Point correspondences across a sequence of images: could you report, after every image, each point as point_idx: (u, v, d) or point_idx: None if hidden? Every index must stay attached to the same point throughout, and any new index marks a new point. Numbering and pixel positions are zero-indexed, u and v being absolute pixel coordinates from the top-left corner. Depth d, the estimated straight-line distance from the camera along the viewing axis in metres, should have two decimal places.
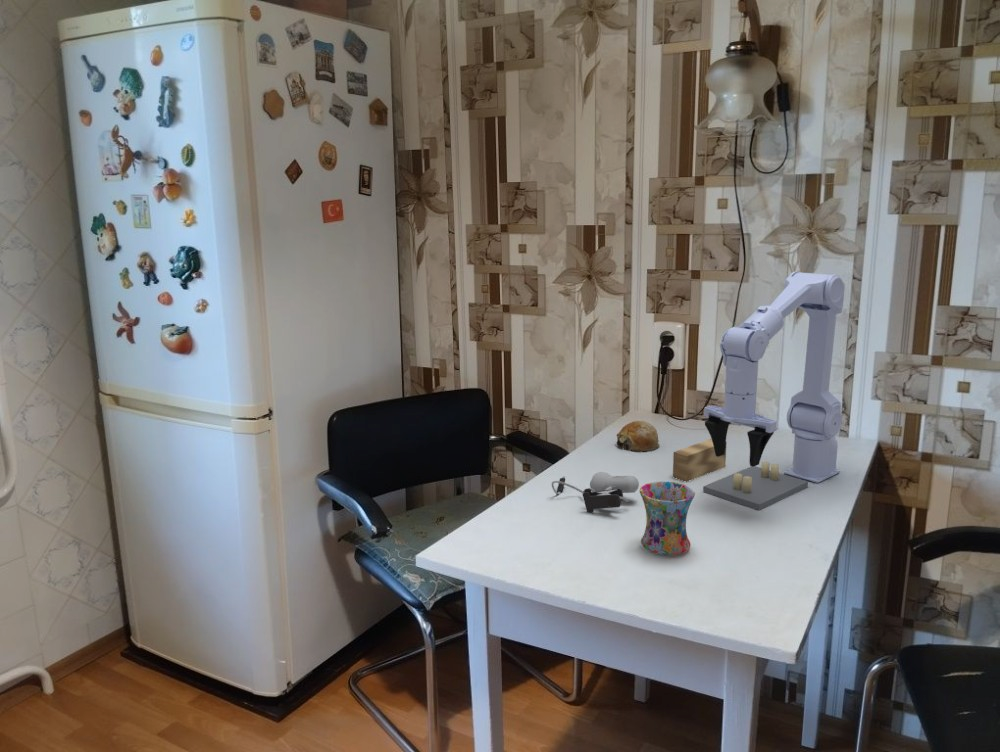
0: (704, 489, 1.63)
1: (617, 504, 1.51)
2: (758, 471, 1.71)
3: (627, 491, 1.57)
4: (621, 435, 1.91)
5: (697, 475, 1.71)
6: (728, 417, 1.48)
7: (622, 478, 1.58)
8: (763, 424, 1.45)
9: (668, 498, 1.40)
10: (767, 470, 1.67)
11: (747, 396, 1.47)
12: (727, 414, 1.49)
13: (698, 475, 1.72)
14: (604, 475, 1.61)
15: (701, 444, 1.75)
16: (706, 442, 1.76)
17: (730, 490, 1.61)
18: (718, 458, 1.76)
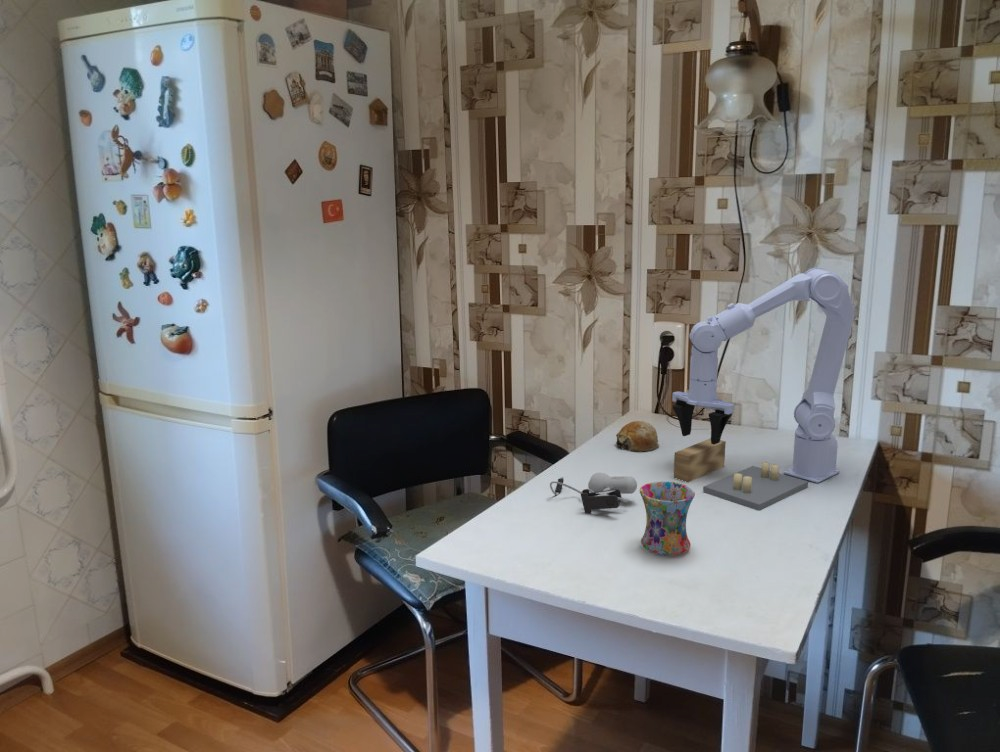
0: (704, 489, 1.63)
1: (615, 505, 1.51)
2: (758, 471, 1.71)
3: (625, 492, 1.57)
4: (621, 435, 1.91)
5: (698, 475, 1.71)
6: (692, 401, 1.69)
7: (621, 479, 1.58)
8: (722, 407, 1.66)
9: (668, 498, 1.40)
10: (767, 470, 1.67)
11: (708, 382, 1.67)
12: (691, 398, 1.70)
13: (699, 475, 1.72)
14: (602, 476, 1.60)
15: (701, 444, 1.75)
16: (706, 442, 1.76)
17: (730, 490, 1.61)
18: (717, 458, 1.76)
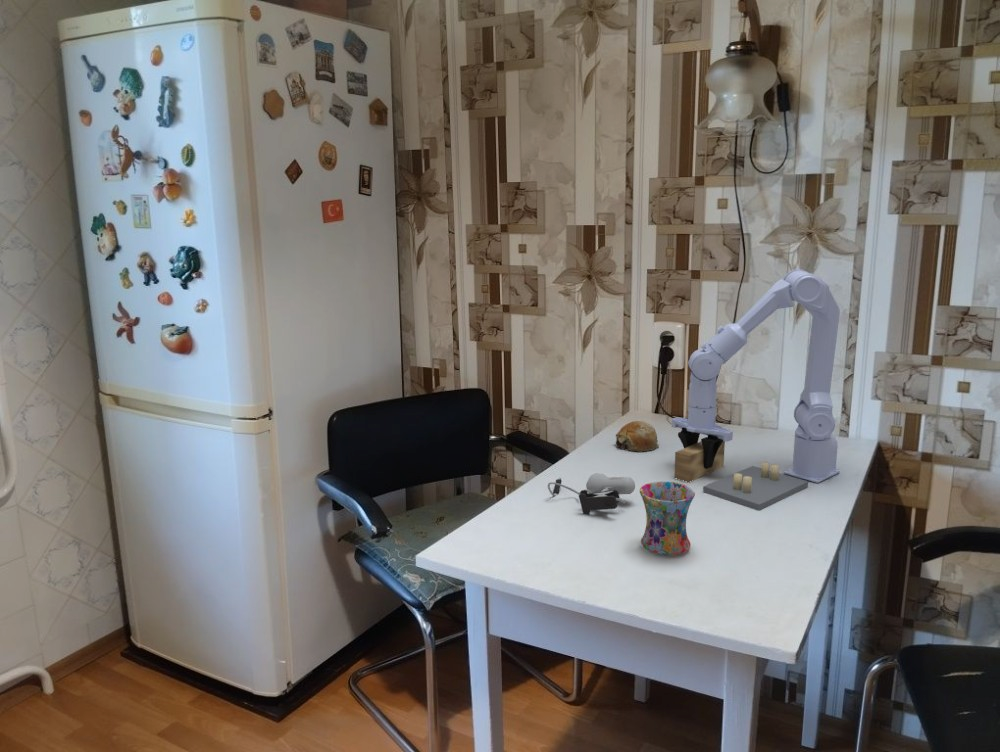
0: (704, 489, 1.63)
1: (613, 506, 1.51)
2: (758, 471, 1.71)
3: (623, 492, 1.57)
4: (620, 435, 1.91)
5: (698, 475, 1.71)
6: (691, 428, 1.70)
7: (619, 479, 1.58)
8: (721, 434, 1.67)
9: (668, 498, 1.40)
10: (767, 470, 1.67)
11: (707, 409, 1.69)
12: (690, 425, 1.71)
13: (699, 474, 1.72)
14: (600, 476, 1.60)
15: (700, 443, 1.75)
16: None
17: (730, 490, 1.61)
18: (717, 457, 1.76)
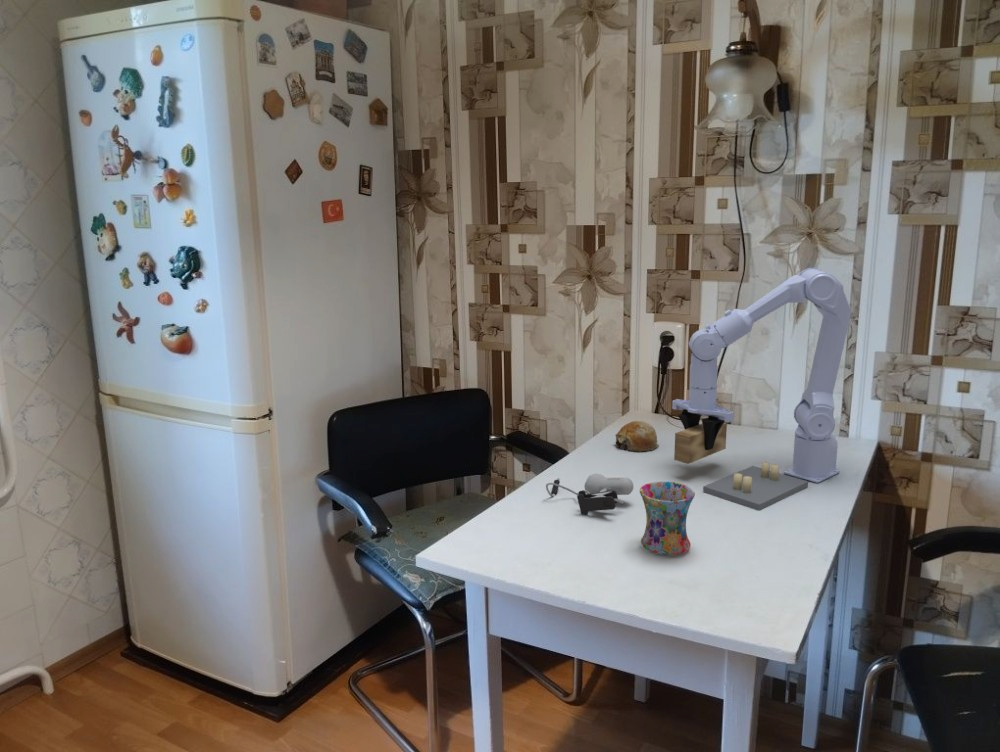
0: (704, 489, 1.63)
1: (612, 506, 1.50)
2: (758, 471, 1.71)
3: (622, 493, 1.56)
4: (620, 435, 1.91)
5: (698, 456, 1.70)
6: (692, 409, 1.69)
7: (617, 480, 1.57)
8: (722, 415, 1.66)
9: (668, 498, 1.40)
10: (767, 470, 1.67)
11: (708, 390, 1.68)
12: (691, 406, 1.70)
13: (699, 456, 1.71)
14: (599, 477, 1.60)
15: (702, 425, 1.74)
16: None
17: (730, 490, 1.61)
18: (719, 439, 1.75)
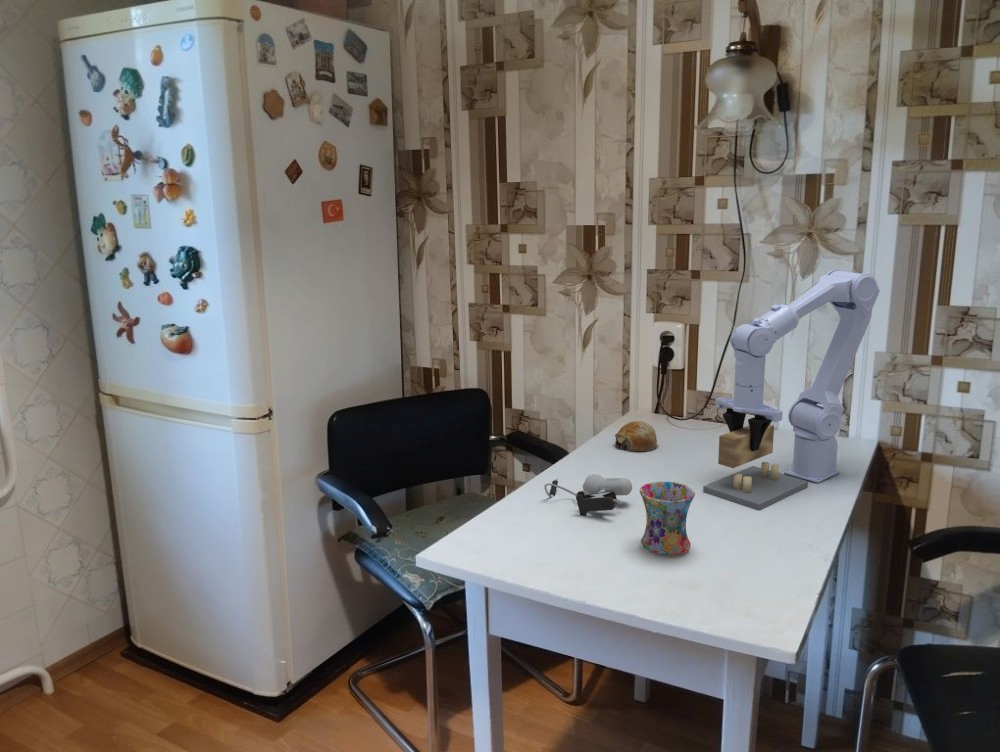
0: (704, 489, 1.63)
1: (611, 507, 1.50)
2: (758, 471, 1.71)
3: (620, 494, 1.56)
4: (619, 435, 1.91)
5: (744, 460, 1.62)
6: (737, 407, 1.60)
7: (616, 480, 1.57)
8: (770, 414, 1.58)
9: (668, 498, 1.40)
10: (767, 470, 1.67)
11: (755, 388, 1.59)
12: (737, 405, 1.61)
13: (745, 460, 1.62)
14: (597, 477, 1.60)
15: (748, 427, 1.66)
16: None
17: (730, 490, 1.61)
18: (765, 443, 1.66)
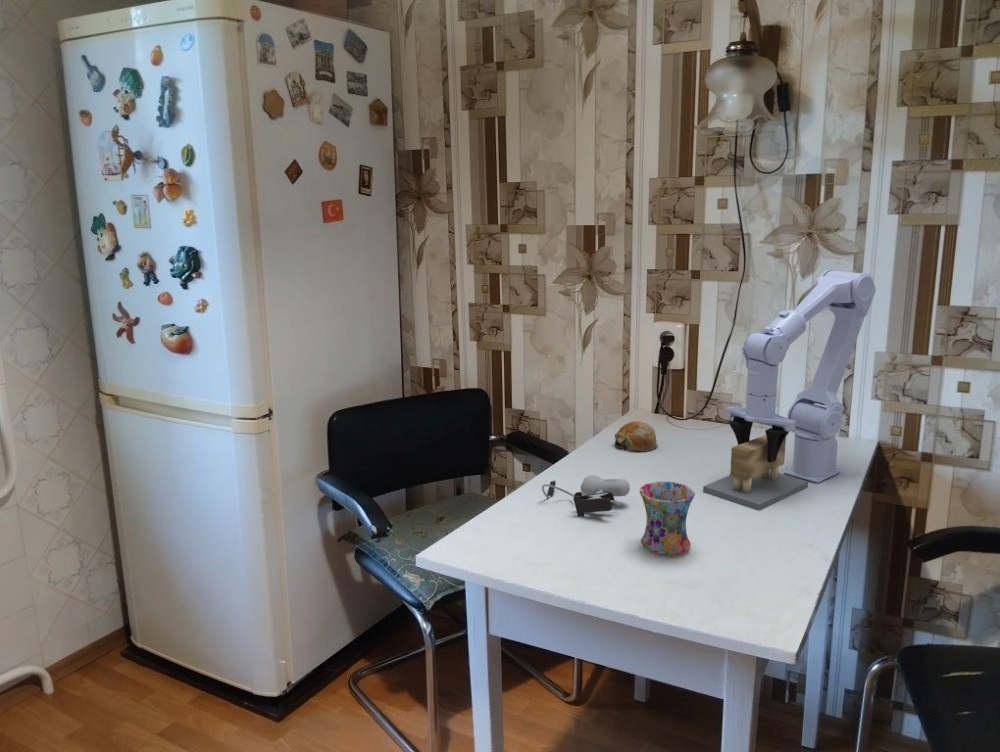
0: (704, 489, 1.63)
1: (608, 508, 1.50)
2: None
3: (618, 494, 1.56)
4: (619, 435, 1.91)
5: (756, 472, 1.60)
6: (750, 417, 1.59)
7: (613, 481, 1.57)
8: (783, 423, 1.56)
9: (668, 498, 1.40)
10: None
11: (768, 397, 1.57)
12: (749, 414, 1.59)
13: (757, 472, 1.60)
14: (595, 478, 1.59)
15: (759, 439, 1.64)
16: (765, 437, 1.65)
17: (730, 490, 1.61)
18: None
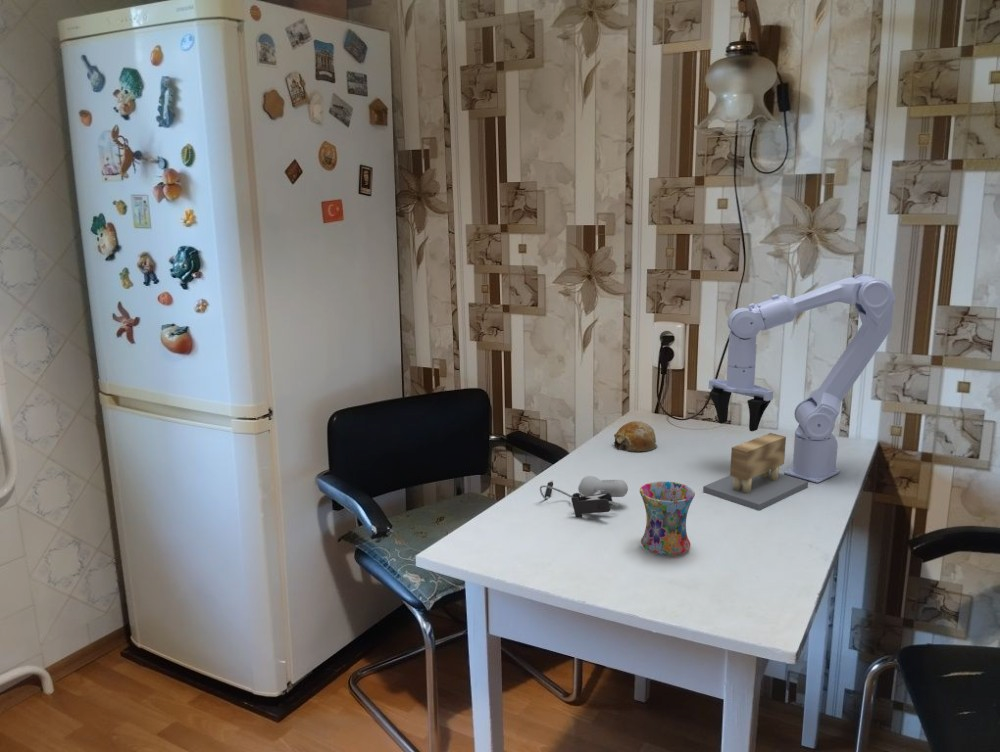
0: (704, 489, 1.63)
1: (606, 509, 1.49)
2: None
3: (616, 495, 1.55)
4: (618, 435, 1.91)
5: (756, 472, 1.60)
6: (730, 388, 1.68)
7: (611, 482, 1.56)
8: (761, 393, 1.65)
9: (668, 498, 1.40)
10: None
11: (747, 369, 1.66)
12: (729, 385, 1.69)
13: (757, 472, 1.60)
14: (593, 479, 1.59)
15: (759, 439, 1.64)
16: (765, 437, 1.65)
17: (730, 490, 1.61)
18: (777, 454, 1.64)
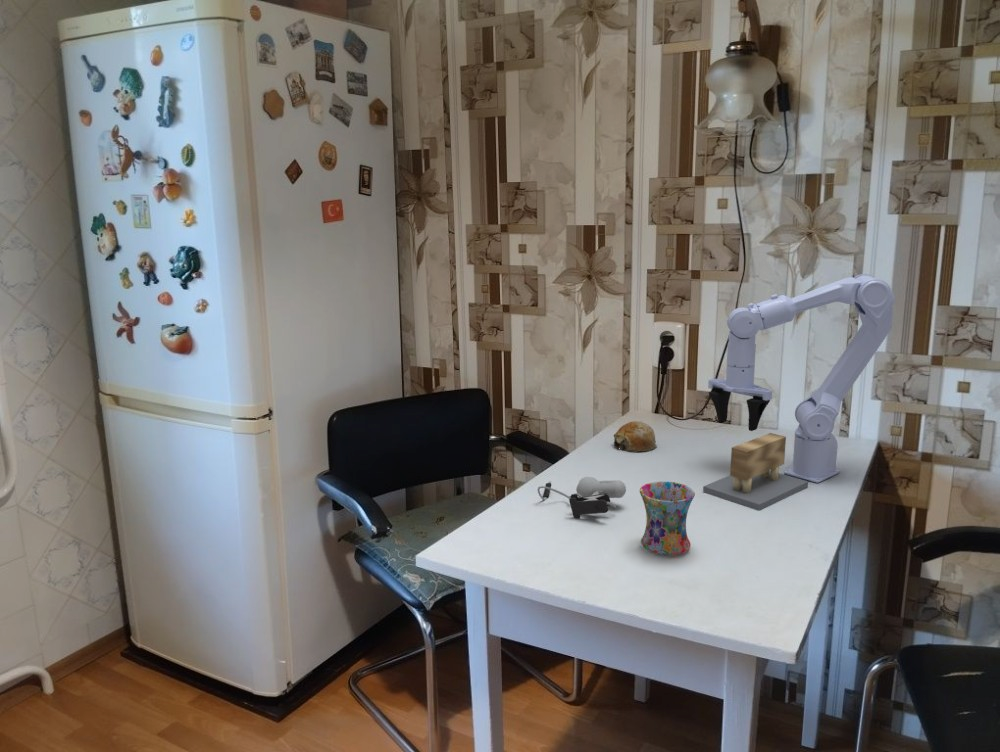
0: (704, 489, 1.63)
1: (604, 510, 1.49)
2: None
3: (614, 496, 1.55)
4: (618, 435, 1.91)
5: (756, 472, 1.60)
6: (729, 387, 1.68)
7: (609, 483, 1.56)
8: (760, 393, 1.65)
9: (668, 498, 1.40)
10: None
11: (746, 368, 1.67)
12: (729, 385, 1.69)
13: (757, 472, 1.60)
14: (591, 480, 1.58)
15: (759, 439, 1.64)
16: (765, 437, 1.65)
17: (730, 490, 1.61)
18: (777, 454, 1.64)
